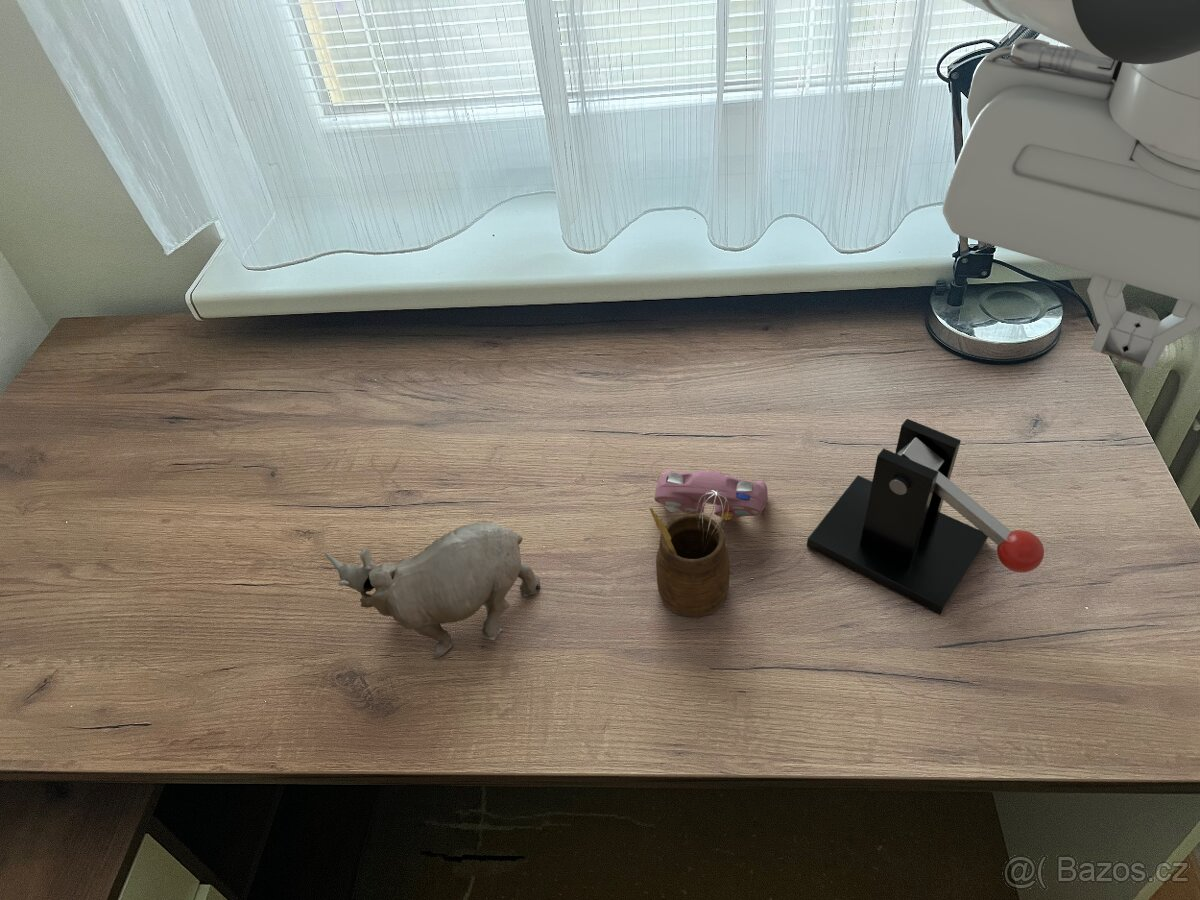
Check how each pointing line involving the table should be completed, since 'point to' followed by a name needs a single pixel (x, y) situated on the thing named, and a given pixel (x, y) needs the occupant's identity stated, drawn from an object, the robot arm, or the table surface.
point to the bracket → (902, 525)
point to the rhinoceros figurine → (445, 581)
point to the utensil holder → (692, 563)
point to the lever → (980, 515)
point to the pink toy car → (711, 493)
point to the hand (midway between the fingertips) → (1125, 353)
